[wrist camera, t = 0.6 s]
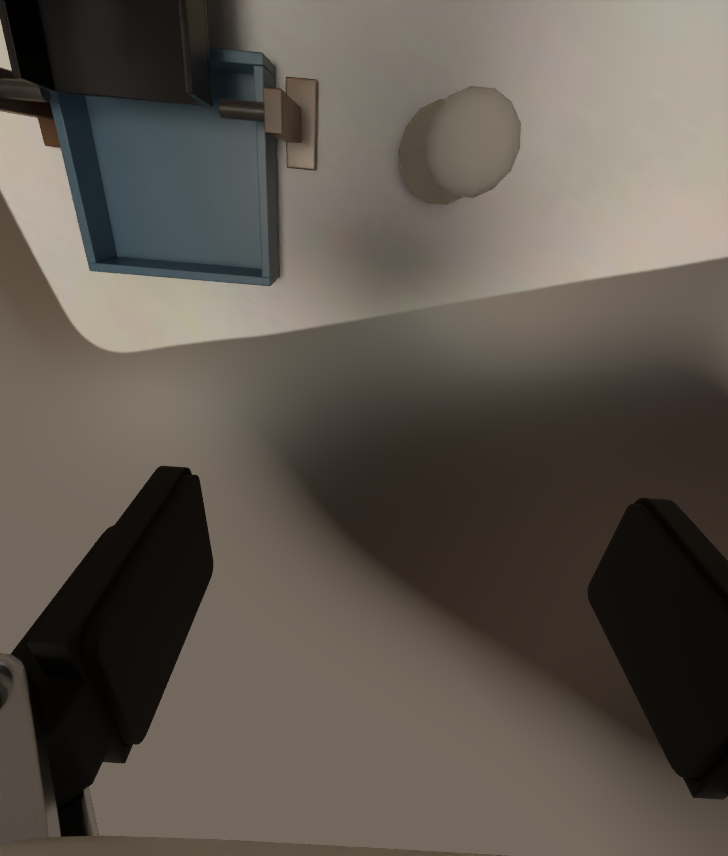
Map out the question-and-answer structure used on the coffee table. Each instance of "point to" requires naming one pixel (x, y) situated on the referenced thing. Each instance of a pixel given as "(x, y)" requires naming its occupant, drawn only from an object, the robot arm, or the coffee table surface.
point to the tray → (176, 180)
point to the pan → (112, 48)
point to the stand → (279, 110)
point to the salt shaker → (460, 145)
